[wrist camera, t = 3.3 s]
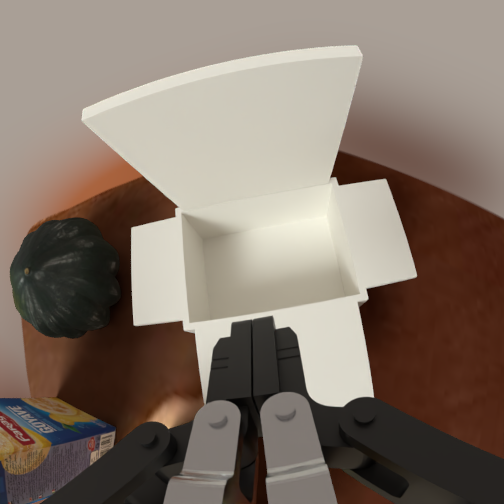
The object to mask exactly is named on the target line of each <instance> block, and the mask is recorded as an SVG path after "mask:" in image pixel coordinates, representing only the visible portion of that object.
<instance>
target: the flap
mask: <svg viewBox="0 0 504 504" xmlns="http://www.w3.org/2000/svg"><path fill="white" fill-rule="evenodd" d="M362 58H363V55H362V53H361V51H360V50H359V48H358V46H357V45H353V46H333V47H320V48H309V49H300V50H292V51H284V52H278V53H271V54H264V55H258V56H252V57H248V58H242V59H237V60H232V61H228V62H223V63H219V64H214V65H210V66H206V67H202V68H198V69H194V70H191V71H187V72H184V73H180V74H177V75H173V76H170V77H167V78H163V79H160V80H157V81H154V82H151V83H148V84H145V85H142V86H139V87H136V88H134V89H131V90H128V91H126V92H123V93H120V94H118V95H115V96H113V97H110V98H108V99H105V100H103V101H100V102H98V103H96V104H93V105H91V106H89V107H87V108H84V109H83V113H82V122H83V123H84V124H85V125H86V126H88V127H89V128H90V129H91V130H92V131H93V132H94V133H96V134H97V135H98V136H99V137H100V138H101V139H102V140H103V141H104V142H106V143H107V144H108V145H109V146H110V147H111V148H112V149H113V150H115V151H116V152H117V153H118V154H119V155H120V156H121V157H122V158H124V159H125V160H126V161H127V162H128V163H129V164H130V165H131V166H133V167H134V168H135V169H136V170H137V171H138V172H139V173H141V174H142V175H143V176H144V177H145V178H146V179H147V180H149V181H150V182H151V183H152V184H153V185H154V186H155V187H156V188H158V189H159V190H160V191H161V192H162V193H163V194H165V195H166V196H167V197H168V198H169V199H170V200H171V201H173V202H174V203H175V204H176V205H177V206H178V207H179V208H181V209H182V210H183V211H187V210H191V209H196V208H201V207H205V206H210V205H215V204H219V203H224V202H229V201H234V200H239V199H244V198H249V197H254V196H259V195H264V194H270V193H275V192H281V191H286V190H292V189H297V188H303V187H309V186H315V185H321V184H327V183H329V180H330V176H331V173H332V170H333V166H334V163H335V159H336V156H337V152H338V149H339V146H340V142H341V138H342V135H343V131H344V128H345V124H346V120H347V117H348V113H349V109H350V106H351V102H352V98H353V94H354V90H355V86H356V82H357V78H358V75H359V70H360V67H361V62H362Z"/></svg>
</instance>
